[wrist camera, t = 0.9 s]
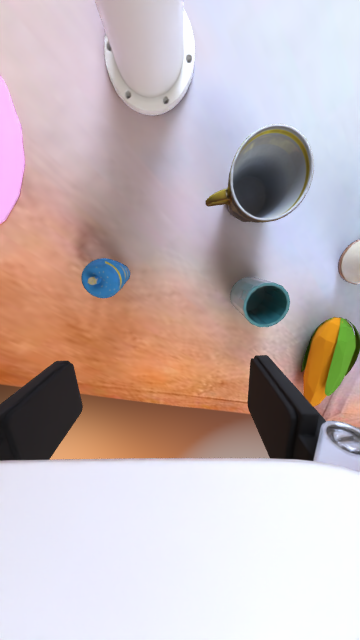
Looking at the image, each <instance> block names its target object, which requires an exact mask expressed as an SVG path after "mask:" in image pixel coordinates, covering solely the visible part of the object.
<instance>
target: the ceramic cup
mask: <svg viewBox="0 0 360 640" xmlns="http://www.w3.org/2000/svg"><path fill="white" fill-rule="evenodd" d="M313 172H314V159H313V154H312V150H311V147H310V145H309V143H308V141H307V139H306V138H305V137H304V136H303V134H302V133H301V132H299V131H298V130H297V129H295V128H293V127H291V126H289V125H284V124H272V125H268V126H265V127H262V128H260V129H258V130H257V131H255V132H254V133H252V134H251V135H250V136H249V137H248V138H247V139H246V140H245V141H244V142H243V143H242V145H241V146H240V148H239V149H238V151H237V153H236V155H235V157H234V159H233V162H232V166H231V170H230V174H229V182H228V188H227V189H224V190H220V191H218V192H216V193H214V194H213V195H211V196H210V197H209V198H208V199H207V200H206V205H207V206H215V205H223V204H227V205H228V208H229V213H230V214H231V215H233V216H234V217H236V218H238V219H239V220H241V221H243V222H269V221H274V220H278V219H280V218H283V217H285V216H286V215H288V214H289V213H291V212H292V211H293V210H294V209H295V208H296V207H297V206H298V205H299V204H300V203H301V202H302V200H303V199H304V197H305V196H306V194H307V192H308V190H309V188H310V185H311V182H312V178H313Z"/></svg>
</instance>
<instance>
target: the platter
mask: <svg viewBox="0 0 360 640" xmlns="http://www.w3.org/2000/svg"><path fill="white" fill-rule="evenodd" d="M24 168H25V159H24V149H23V139H22V130H21V125H20V122H19V119H18V116H17V114H16V111H15V108H14V105H13V102H12V99H11V97H10V94H9V91H8V88H7V86H6V84H5V82H4V81H3V79H2V77H1V76H0V224H1V223H2V222H4V221H5V220H6V219H7V217H8V215H9V214H10V212H11V210H12V209H13V207H14V205H15V203H16V202H17V200H18V198H19V196H20V191H21V185H22V180H23V174H24Z"/></svg>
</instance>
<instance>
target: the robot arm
mask: <svg viewBox="0 0 360 640" xmlns="http://www.w3.org/2000/svg"><path fill="white" fill-rule="evenodd" d="M95 3H96V6H97V8H98V11H99V14H100V17H101V20H102V23H103V26H104V29H105V41H104V54H105V61H106V67H107V70H108V73H109V76H110V79H111V81H112V84H113V86H114V88H115V90H116V92H117V93H118V95H119V97H120V98H121V99H122V100H123V101H124V103H125V104H126V105H128V106H129V107H130V108H131V109H133V110H135V111H136V112H138V113H141V114H145V115H159V114H163V113H165V112H167V111H169V110H171V109H172V108H173V107H175V106H176V105H177V104H178V103H179V102H180V101H181V99H182V98H183V97H184V95H185V93H186V92H187V90H188V87H189V85H190V82H191V80H192V75H193V71H194V62H195V42H194V35H193V31H192V27H191V24H190V21H189V19H188V16H187V14H186V12H185V10H184V0H95ZM128 98H129V99H128ZM165 103H167V104H165ZM248 408H249V411H250V413H251V416H252V418H253V420H254V423H255V425H256V427H257V429H258V432H259V434H260V436H261V439H262V441H263V443H264V445H265V447H266V450H267V452H268V455H269V457H270V458H144V459H65V460H64V459H63V460H62V459H61V460H49V459H50V458H51V456H52V455H53V453H54V452H55V450H56V449H57V447H58V446H59V444H60V443H61V441H62V440H63V438H64V437H65V436H66V434H67V433H68V431H69V430H70V428H71V427H72V425H73V424H74V422H75V421H76V419H77V418H78V417H79V415H80V414H81V412H82V401H81V397H80V392H79V388H78V384H77V379H76V375H75V370H74V366H73V364H71V363H70V362H69V361H56V362H54V363H53V364H52V365H50V366H49V367H48V368H46V369H45V370H44V371H43V372H41V373H40V374H39V375H37V376H36V377H35V378H34V379H32V380H31V381H30V382H28V383H27V384H26V385H25V386H23V387H22V388H21V389H19V390H18V391H17V392H16V393H15V394H13V395H12V396H10V397H9V398H8V399H7V400H5V401H4V402H3V403H1V404H0V640H360V430H359V429H358V428H356V427H354V426H351V425H349V424H346V423H343V422H338V421H327V422H326V421H325V419H324V418H323V417H322V416H321V415H320V414H319V413H318V412H317V410H316V409H315V408H314V407H313V406H312V405H311V404H310V403H309V401H308V400H307V399H306V398H305V397H304V396H303V395H302V394H301V392H300V391H299V390H298V389H297V388H296V387H295V386H294V385H293V383H291V382H290V380H289V379H288V378H287V377H286V376H285V375H284V374H283V373H282V371H281V370H280V369H279V368H278V367H277V366H276V365H275V364H274V362H273V361H272V360H271V359H270V358H269V357H268V356H267V355H262V356H255V357H254V359H251V363H250V377H249V391H248Z"/></svg>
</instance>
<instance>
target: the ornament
mask: <svg viewBox="0 0 360 640" xmlns="http://www.w3.org/2000/svg"><path fill="white" fill-rule="evenodd" d="M129 277H130V271H129V269H128V268H127V267H126V266H125V265H124V264H121V263H120V262H118V261H114V260H111V259H106V258H102V259H97V260H94V261H92V262H90V263H89V264H88V265H87V266H86V267H85V268H84V270H83V272H82V283H83V286H84V288H85V289H86V290H87V291H88V292H89V293H90V294H92V295H93V296H96V297H99V298H109V297H112V296H113V295H115V294H116V293H117V292H118V291H119V290H120V289H121V288H122V287H123V285H124V284H125V283H126V281H128V279H129Z"/></svg>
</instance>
